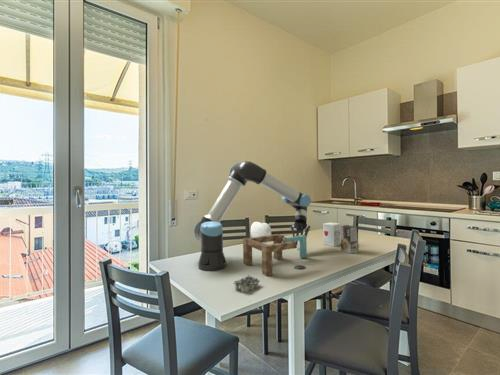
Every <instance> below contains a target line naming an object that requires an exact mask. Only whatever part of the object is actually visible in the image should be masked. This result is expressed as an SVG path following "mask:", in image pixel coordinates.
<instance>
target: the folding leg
mask: <svg viewBox="0 0 500 375" xmlns="http://www.w3.org/2000/svg"><path fill="white" fill-rule="evenodd" d="M291 241H295V242H296V241H300V251H299V258H301V259H303V258H307V256H308V252H307V251H308V250H307V244H308V243H307V237H306V235H304V234H303V235H301V234H299V236H296V235H295V237H293V236H290V237H289V236H287V237H286V236H284V237H283V242H282V243H284V242H291Z"/></svg>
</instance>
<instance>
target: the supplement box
mask: <svg viewBox="0 0 500 375" xmlns="http://www.w3.org/2000/svg"><path fill="white" fill-rule="evenodd" d="M341 226H342V224H341V223H338V222H325V223H323V224H322V230H323V231H322V232H323V235H322V236H323V237H322V238H323V240H322V241H323V245H324V246H330V247H337V246H341Z"/></svg>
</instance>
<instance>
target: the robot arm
mask: <svg viewBox="0 0 500 375" xmlns="http://www.w3.org/2000/svg"><path fill="white" fill-rule="evenodd" d="M247 182H252V183H254V184H257V185H262V186H263V187H266V188H267V189H269V190H271V192H272V191H273V192H274V193H276V194H278V195H280V196H281V200H282V201H283V202H284V203H286V204H287V205H289V206H290V207H292V208H293V209H295V216H294V223H293V225H289V228H290V229H291V232H292V233H291V235H292V237H295V236H299V235H306V238H307V237H308V234H309V231H310V230H311V226H310V225H308V224H307V220H308V206H310V205H311V202H312V198H311V196H310V195H308V194H304V193H302V192H300V191H298V190H297V189H295V188H293V187H292V186H290V185H288V184H287V183H286V182H284V181H282V180H280V179H278V178H277V177H275V176H273V175H272V174H269V173H268V172H267V170H266V169H264V168H263V167H261V166H260V165H258V164H257V163H255V162H252V161H247V160H246V161H242V162H239V161H238V162H237V163H235V164H233V165H232V166H231V168H230V170H229V174H228V176H227V182H226V184H224V185H225V186H224V187H223V188H222V191H221V192H220V194H219V195H218V196H217V199H216V200H215V202H214V204H213V205H212V207H210V210H209V212H208V213H207V214H205V215H203V216H202V218H201V220H200V221H198V222H197V223H196V224H195V225H194V229H193V234H194V237H195V238H196V240H197V241H199V242H200V250H201V251H200V252H201V253H200V256H199V259H198V263H197V266H198V269H199V270H202V271H216V270H222V269H224V268H226V267H227V259H226V256H225V253H224V247H223V246H224V244H223V242H224V240H223V237H224V234H223V232H224V231H223V224H222V223H221V221H222V220H223V217H224V216H225V214H226V213H227V211H228V209H229V208H230V206H231V204H232V202H234V199H235V198H236V196H237V195H238V192H239V191H240V189H242V188H244V187H245V186H246V184H247ZM295 230H296V234H295ZM304 230H305V232H304ZM295 242H297V248H296V249H297V250H296V251H299V252H300V241H295Z"/></svg>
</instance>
